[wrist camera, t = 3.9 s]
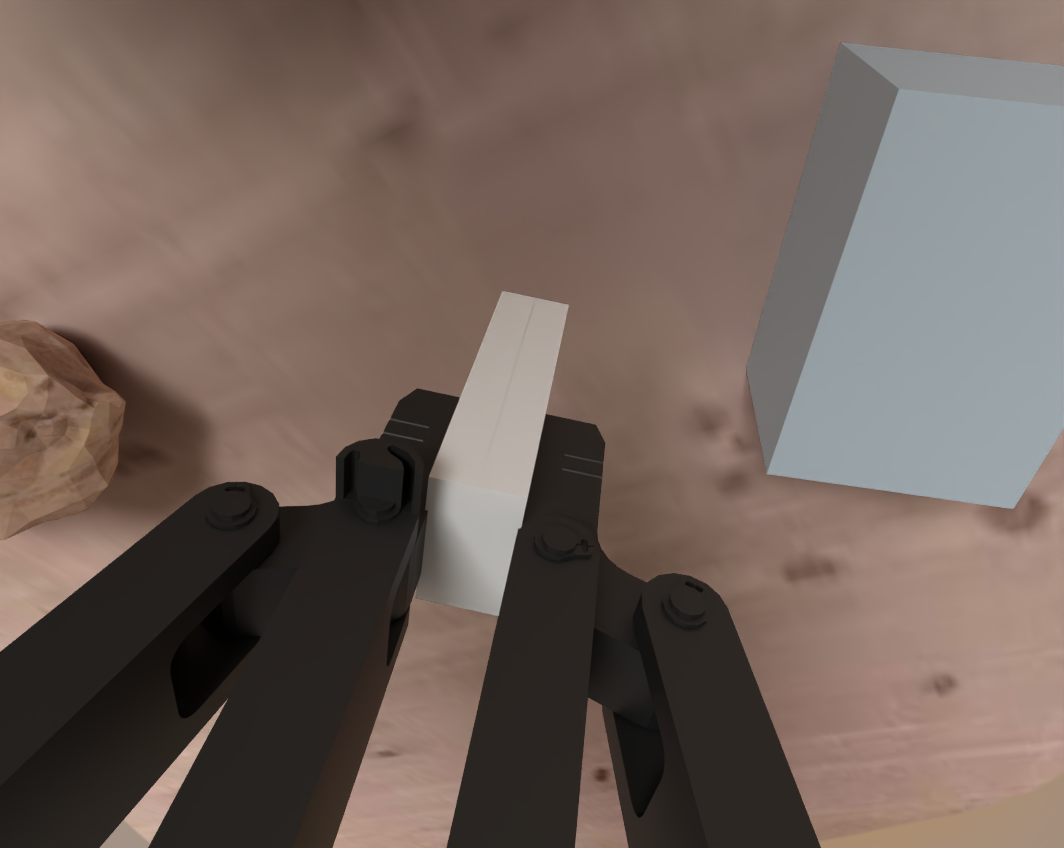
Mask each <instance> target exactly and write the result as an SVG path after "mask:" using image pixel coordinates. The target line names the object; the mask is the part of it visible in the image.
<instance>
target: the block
mask: <svg viewBox="0 0 1064 848" xmlns="http://www.w3.org/2000/svg"><path fill="white" fill-rule="evenodd" d="M746 371H747V376H748V381H749V386H750V391H751V397H752V402H753V407H754V412H755V417H756V422H757V427H758V432H759V437H760V442H761V448H762V453H763V458H764V463H765V468H766V473H767V474H770V475H777V476H784V477H791V478H798V479H805V480H812V481H819V482H826V483H833V484H840V485H847V486H854V487H861V488H869V489H876V490H883V491H890V492H897V493H904V494H911V495H918V496H925V497H932V498H939V499H946V500H953V501H960V502H967V503H975V504H982V505H989V506H996V507H1003V508H1010V509H1014V507H1015V505H1016V504H1017V502H1018V501H1019V499H1020V497H1021V496H1022V494H1023V493H1024V491H1025V489H1026V488H1027V486H1028V485H1029V483H1030V481H1031V480H1032V478H1033V477H1034V475H1035V473H1036V472H1037V470H1038V469H1039V467H1040V465H1041V464H1042V462H1043V461H1044V459H1045V457H1046V456H1047V454H1048V453H1049V451H1050V449H1051V448H1052V446H1053V445H1054V443H1055V441H1056V440H1057V438H1058V437H1059V435H1060V433H1061V432H1062V430H1063V429H1064V66H1061V65H1052V64H1042V63H1033V62H1023V61H1013V60H1004V59H994V58H985V57H975V56H966V55H956V54H946V53H937V52H927V51H918V50H908V49H899V48H889V47H880V46H870V45H860V44H851V43H841V42H840V46H839V49H838V53H837V56H836V59H835V63H834V66H833V70H832V73H831V77H830V80H829V84H828V87H827V91H826V94H825V97H824V101H823V104H822V108H821V111H820V115H819V118H818V122H817V125H816V128H815V132H814V135H813V139H812V142H811V146H810V149H809V153H808V156H807V159H806V163H805V166H804V170H803V173H802V177H801V180H800V184H799V187H798V191H797V194H796V197H795V201H794V204H793V208H792V211H791V215H790V218H789V222H788V225H787V228H786V232H785V235H784V239H783V242H782V246H781V249H780V253H779V256H778V260H777V263H776V266H775V270H774V273H773V277H772V280H771V284H770V287H769V291H768V294H767V297H766V301H765V304H764V308H763V311H762V315H761V318H760V322H759V325H758V329H757V332H756V335H755V339H754V342H753V346H752V349H751V353H750V356H749V360H748V363H747V366H746Z"/></svg>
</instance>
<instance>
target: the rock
mask: <svg viewBox="0 0 1064 848" xmlns="http://www.w3.org/2000/svg"><path fill="white" fill-rule="evenodd" d="M125 405H126V402H125V401H124V399H123V398H122V397H121V396H120V395H119V394H118V393H117V392H116V391H114V390H113V389H111V388H109V387H107V386H106V385H104V384H103V383H102V382H101V380H100V379H99V378H98V376H97V375H96V373H95V372H94V371H93V369H92V368H91V367H90V365H89V364H88V363H87V361H86V360H85V359H84V357H83V356H82V355H81V353H80V352H79V350H78V349H77V348H76V346H75V345H74V344H73V343H71V342H69V341H68V340H66V339H64V338H63V337H61V336H59V335H57V334H56V333H54V332H52V331H51V330H49V329H47V328H46V327H44V326H42V325H40V324H39V323H37V322H33V321H28V320H22V321H11V322H0V540H5V539H7V538H10V537H12V536H14V535H16V534H18V533H20V532H23V531H25V530H27V529H29V528H31V527H33V526H36V525H38V524H40V523H42V522H44V521H48V520H56V519H59V518H61V517H63V516H65V515H73V514H77V513H79V512H81V511H84V510H86V509H88V508H89V507H90V505H91V504H92V503H93V502H94V501H95V500H96V499H97V498H98V496H99V495H100V494H101V493H102V491H104V490H105V489H106V488H107V487H108V486H109V483H110V481H111V479H112V476H113V474H114V472H115V469H116V467H117V465H118V450H119V433H120V431H121V429H122V426H123V417H124V411H125Z"/></svg>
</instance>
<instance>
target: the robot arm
mask: <svg viewBox="0 0 1064 848" xmlns="http://www.w3.org/2000/svg"><path fill="white" fill-rule="evenodd" d="M568 307H569V305H567V304H562V303H558V302H553V301H548V300H543V299H539V298H534V297H529V296H525V295H520V294H515V293H510V292H506V291H502V293H501V296H500V298H499V301H498V303H497V306H496V308H495V311H494V313H493V316H492V318H491V321H490V324H489V326H488V329H487V331H486V334H485V336H484V339H483V341H482V344H481V346H480V349H479V351H478V354H477V356H476V359H475V361H474V364H473V366H472V369H471V371H470V374H469V377H468V379H467V382H466V384H465V387H464V389H463V392H462V394H461V397H460V398H459V397H455V396H450V395H445V394H441V393H436V392H431V391H427V390H422V389H416V390H414V391H413V392H411V393H410V394H409V395H407V396H406V397H404V398H403V399H401V400H400V401H399V402H398V404H397V406H396V408H395V410H394V412H393V414H392V416H391V419H390V420H389V422H388V424H387V426H386V427H385V429H384V433H383V434H382V435H381V437H380V439H376V438H375V439H368V440H362V441H358V442H356V443H353V444H351V445H349V446H347V447H345V448H344V449H343V450H342V451H341V452H340V453H339V454H338V455H337V456H336V498H335V500H334V501H331V502H327V503H324V504H320V505H311V506H285V507H279V503H278V501H277V500H276V498H275V496H274V494H273V493H271V492H270V491H268V490H267V489H265V488H264V487H262V486H260V485H256V484H252V483H248V482H227V483H223V484H219V485H215V486H211V487H209V488H207V489H205V490H204V491H202V492H200V493H198V494H197V495H195V496H194V497H193V498H191V499H190V500H189V501H188V502H186V503H185V504H184V505H183V506H181V507H180V508H179V509H178V510H176V511H175V512H174V513H173V514H171V515H170V516H169V517H168V518H166V519H165V520H164V521H163V522H161V523H160V524H159V525H158V526H156V527H155V528H154V529H153V530H151V531H150V532H149V533H148V534H146V535H145V536H144V537H143V538H141V539H140V540H139V541H138V542H136V543H135V544H134V545H133V546H132V547H130V548H129V549H128V550H127V551H125V552H124V553H123V554H122V555H120V556H119V557H118V558H117V559H115V560H114V561H113V562H112V563H110V564H109V565H108V566H107V567H105V568H104V569H103V570H102V571H100V572H99V573H98V574H97V575H95V576H94V577H93V578H92V579H90V580H89V581H88V582H87V583H85V584H84V585H83V586H82V587H80V588H79V589H78V590H77V591H75V592H74V593H73V594H72V595H70V596H69V597H68V598H67V599H66V600H64V601H63V602H62V603H61V604H59V605H58V606H57V607H56V608H54V609H53V610H52V611H51V612H49V613H48V614H47V615H46V616H44V617H43V618H42V619H41V620H39V621H38V622H37V623H36V624H34V625H33V626H32V627H31V628H29V629H28V630H27V631H26V632H24V633H23V634H22V635H21V636H19V637H18V638H17V639H16V640H14V641H13V642H12V643H11V644H9V645H8V646H7V647H6V648H5V649H3V650H2V651H1V652H0V848H100V846H101V845H102V844H103V843H104V842H105V841H106V839H107V838H108V837H109V836H110V835H111V833H112V832H113V831H114V830H115V829H116V828H117V827H118V826H119V824H120V823H121V822H122V821H123V820H124V819H125V817H126V816H127V815H128V814H129V813H130V812H131V810H132V809H133V808H134V807H135V806H136V805H137V803H138V802H139V801H140V800H141V799H142V798H143V797H144V795H145V794H146V793H147V792H148V791H149V790H150V788H151V787H152V786H153V785H154V784H155V783H156V781H157V780H158V779H159V778H160V777H161V776H162V774H163V773H164V772H165V771H166V770H167V769H168V767H169V766H170V765H171V764H172V763H173V762H174V761H175V759H176V758H177V757H178V756H179V755H180V754H181V752H182V751H183V750H184V749H185V748H186V747H187V745H188V744H189V743H190V742H191V741H192V740H193V738H194V737H195V736H196V735H197V734H198V733H199V731H200V730H201V729H202V728H203V727H204V726H205V725H206V723H207V722H208V721H209V720H210V719H211V718H212V716H213V715H214V714H215V713H216V712H217V711H218V709H219V708H220V707H221V706H222V705H223V704H224V702H225V701H226V700H227V699H228V700H227V702H226V704H225V705H224V707H223V709H222V711H221V713H220V715H219V717H218V719H217V720H216V722H215V724H214V726H213V728H212V730H211V732H210V733H209V735H208V737H207V739H206V741H205V743H204V745H203V747H202V748H201V750H200V752H199V754H198V756H197V758H196V760H195V761H194V763H193V765H192V767H191V769H190V771H189V773H188V775H187V776H186V778H185V780H184V782H183V784H182V786H181V788H180V789H179V791H178V793H177V795H176V797H175V799H174V801H173V803H172V804H171V806H170V808H169V810H168V812H167V814H166V816H165V817H164V819H163V821H162V823H161V825H160V827H159V829H158V831H157V832H156V834H155V836H154V838H153V840H152V842H151V844H150V846H149V847H148V848H332V847H333V844H334V841H335V839H336V836H337V833H338V830H339V827H340V824H341V821H342V818H343V815H344V812H345V809H346V806H347V803H348V800H349V797H350V794H351V791H352V788H353V786H354V783H355V780H356V777H357V774H358V771H359V768H360V765H361V762H362V759H363V756H364V753H365V750H366V747H367V744H368V741H369V738H370V735H371V733H372V730H373V727H374V724H375V721H376V718H377V715H378V712H379V709H380V706H381V703H382V700H383V697H384V694H385V691H386V688H387V685H388V682H389V679H390V677H391V674H392V671H393V668H394V665H395V662H396V659H397V656H398V653H399V650H400V647H401V644H402V641H403V638H404V635H405V632H406V629H407V626H408V620H409V610H410V604H411V601H412V598H413V595H414V592H415V589H416V587H417V592H416V598H417V599H421V600H426V601H431V602H435V603H440V604H444V605H449V606H454V607H458V608H463V609H467V610H472V611H476V612H481V613H486V614H490V615H495V616H498V620H497V625H496V629H495V634H494V638H493V643H492V647H491V652H490V656H489V661H488V665H487V670H486V674H485V679H484V683H483V688H482V692H481V696H480V701H479V705H478V710H477V714H476V719H475V723H474V728H473V732H472V737H471V741H470V746H469V750H468V755H467V759H466V764H465V768H464V773H463V777H462V782H461V786H460V791H459V795H458V800H457V804H456V808H455V813H454V817H453V822H452V826H451V831H450V835H449V840H448V844H447V848H575V839H576V827H577V816H578V804H579V793H580V781H581V769H582V758H583V746H584V735H585V723H586V712H587V700H588V697H589V698H590V699H592V700H594V701H596V702H598V703H599V704H601V705H602V712H603V717H604V722H605V727H606V732H607V738H608V743H609V748H610V753H611V758H612V763H613V769H614V774H615V779H616V784H617V789H618V795H619V800H620V805H621V810H622V815H623V820H624V826H625V831H626V836H627V841H628V846H629V848H821V847H820V844H819V842H818V839H817V837H816V834H815V831H814V829H813V826H812V824H811V821H810V819H809V816H808V813H807V811H806V808H805V806H804V803H803V801H802V798H801V795H800V793H799V790H798V788H797V785H796V783H795V780H794V777H793V775H792V772H791V770H790V767H789V765H788V762H787V759H786V757H785V754H784V752H783V749H782V747H781V744H780V741H779V739H778V736H777V734H776V731H775V729H774V726H773V723H772V721H771V718H770V716H769V713H768V711H767V708H766V705H765V703H764V700H763V698H762V695H761V693H760V690H759V687H758V685H757V682H756V680H755V677H754V675H753V672H752V669H751V667H750V664H749V662H748V659H747V657H746V654H745V651H744V649H743V646H742V644H741V641H740V639H739V636H738V633H737V631H736V628H735V626H734V623H733V621H732V618H731V615H730V613H729V610H728V608H727V606H726V605H725V603H724V602H723V600H722V598H721V597H720V595H719V594H718V593H716V592H715V591H714V590H713V589H712V588H711V587H709V586H708V585H707V584H706V583H703V582H701V581H699V580H697V579H695V578H693V577H691V576H686V575H681V574H676V573H672V574H664V575H659V576H657V577H655V578H654V579H652V580H650V581H649V582H647V583H646V582H644V581H642V580H640V579H638V578H636V577H634V576H632V575H630V574H628V573H627V572H625V571H623V570H622V569H620V568H618V567H617V566H616V565H615V564H614V563H613V562H611V561H610V560H609V559H608V558H607V556H606V555H605V553H604V552H603V551H602V549H601V547H600V544H599V542H598V536H597V527H598V516H599V505H600V494H601V483H602V479H601V478H602V472H603V461H604V449H605V442H604V440H603V438H602V436H601V434H600V432H599V430H598V428H597V426H596V425H594V424H589V423H585V422H580V421H575V420H571V419H566V418H561V417H557V416H552V415H547V414H546V410H547V405H548V400H549V396H550V391H551V386H552V382H553V377H554V372H555V368H556V363H557V358H558V354H559V349H560V344H561V340H562V335H563V330H564V326H565V321H566V316H567V312H568Z"/></svg>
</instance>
